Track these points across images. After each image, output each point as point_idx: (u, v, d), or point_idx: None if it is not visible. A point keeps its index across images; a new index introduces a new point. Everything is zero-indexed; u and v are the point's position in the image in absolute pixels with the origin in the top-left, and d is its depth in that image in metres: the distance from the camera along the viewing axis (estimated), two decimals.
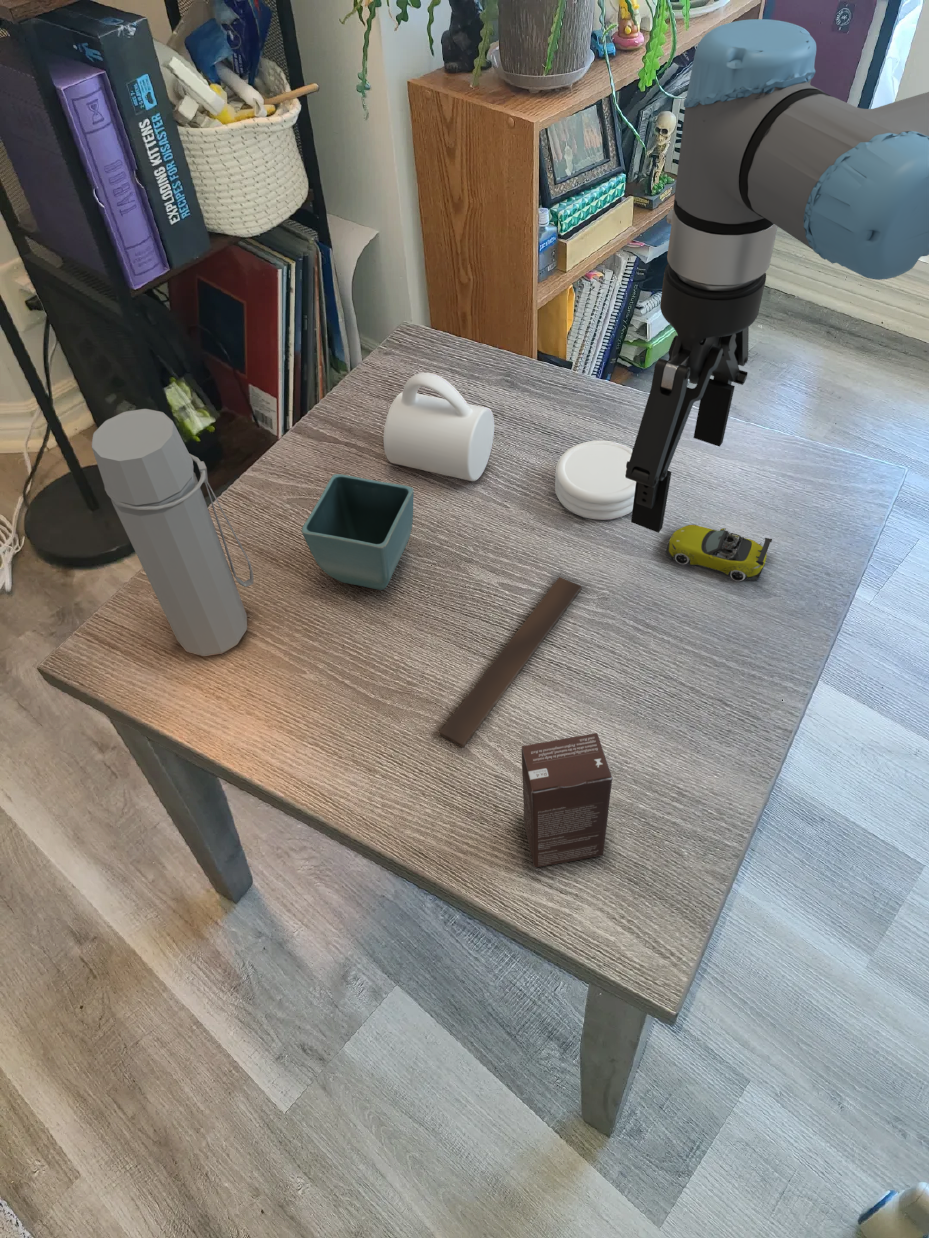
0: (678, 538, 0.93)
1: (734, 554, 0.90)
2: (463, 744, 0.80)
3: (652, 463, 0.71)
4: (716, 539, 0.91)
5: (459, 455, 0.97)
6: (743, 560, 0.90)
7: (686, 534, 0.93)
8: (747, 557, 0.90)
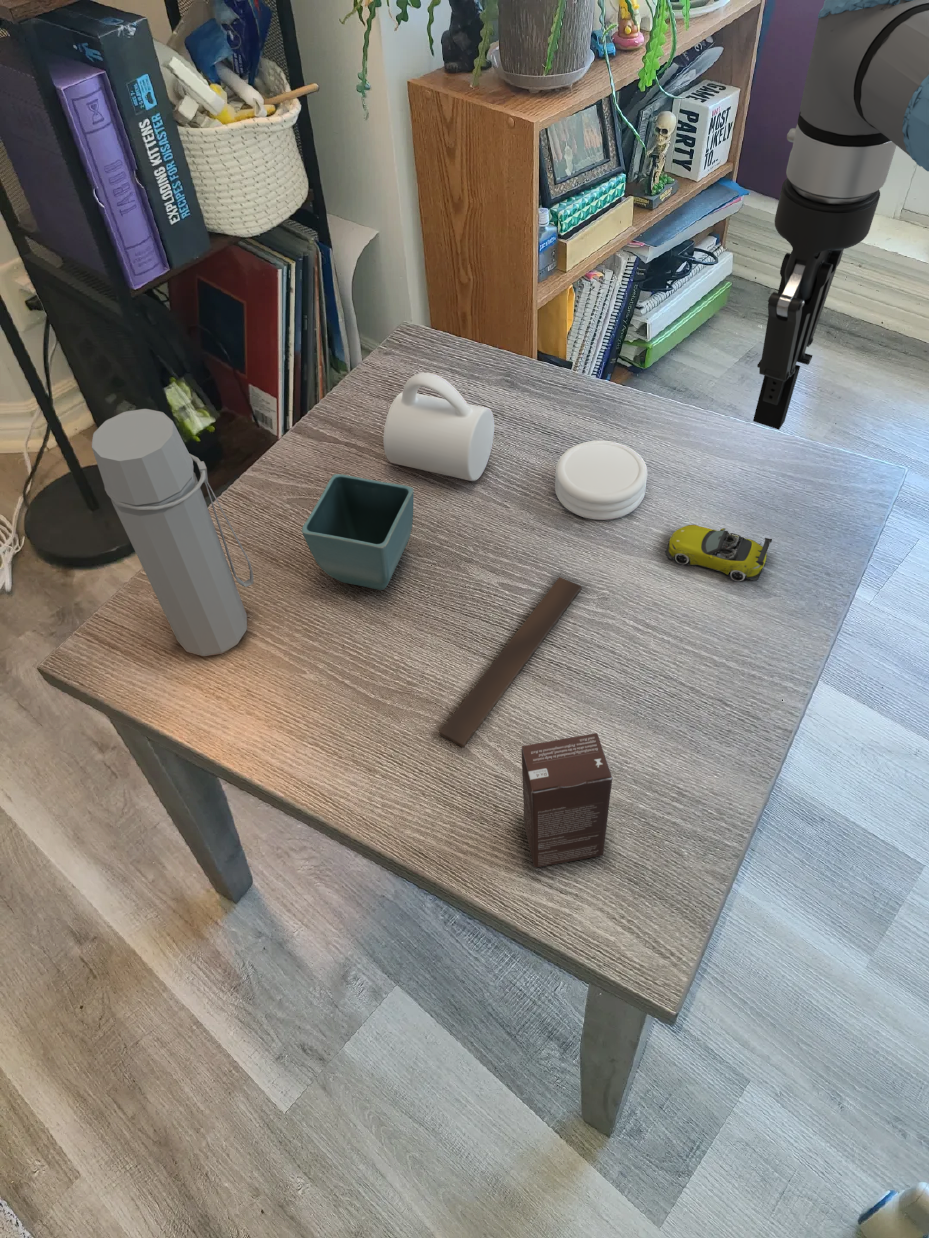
0: (678, 538, 0.93)
1: (734, 554, 0.90)
2: (463, 744, 0.80)
3: (781, 367, 0.80)
4: (716, 539, 0.91)
5: (459, 455, 0.97)
6: (743, 560, 0.90)
7: (686, 534, 0.93)
8: (747, 557, 0.90)
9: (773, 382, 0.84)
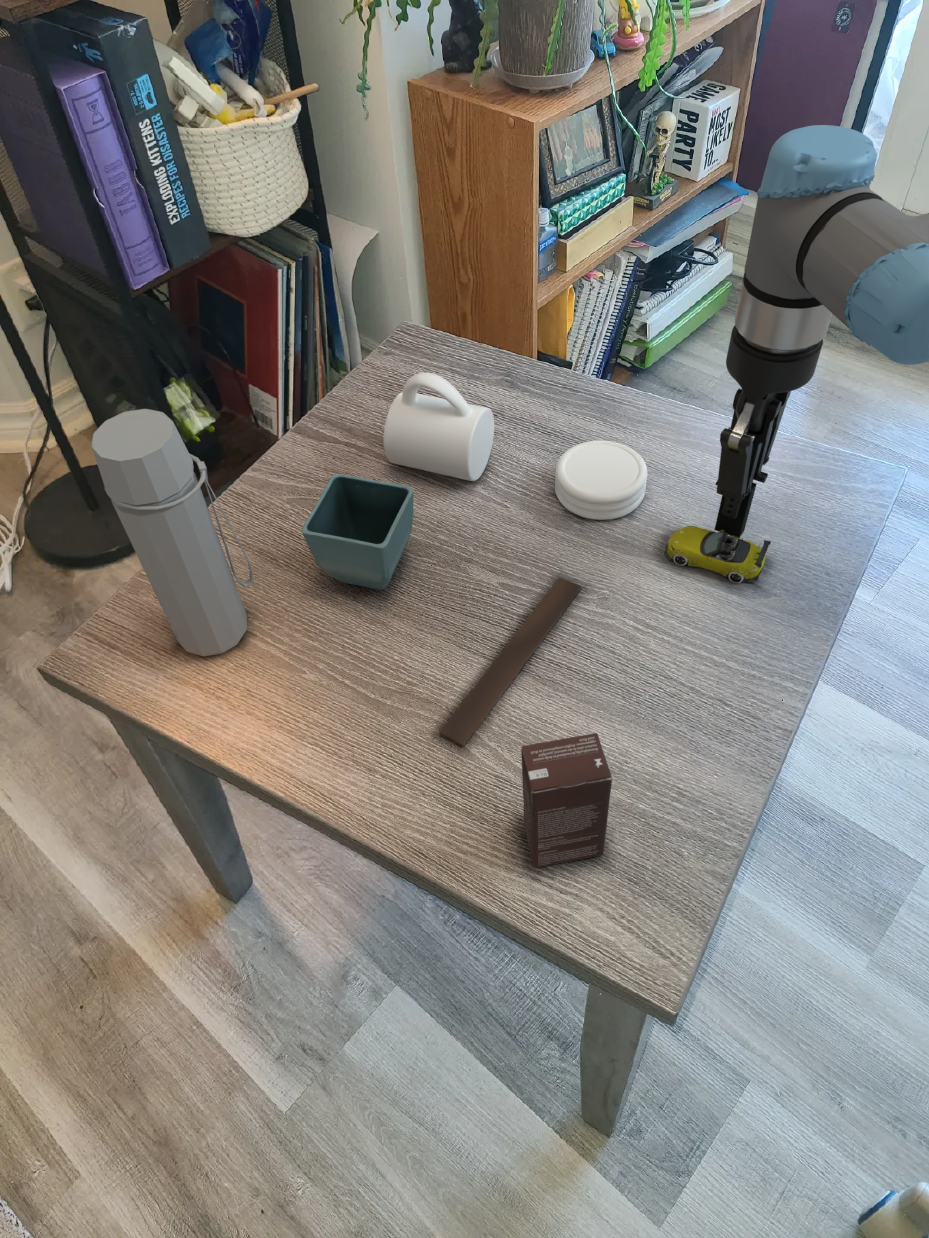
0: (677, 539, 0.93)
1: (732, 556, 0.90)
2: (463, 744, 0.80)
3: (736, 490, 0.84)
4: (715, 541, 0.91)
5: (459, 455, 0.97)
6: (741, 562, 0.90)
7: (685, 535, 0.93)
8: (745, 559, 0.90)
9: (731, 499, 0.88)
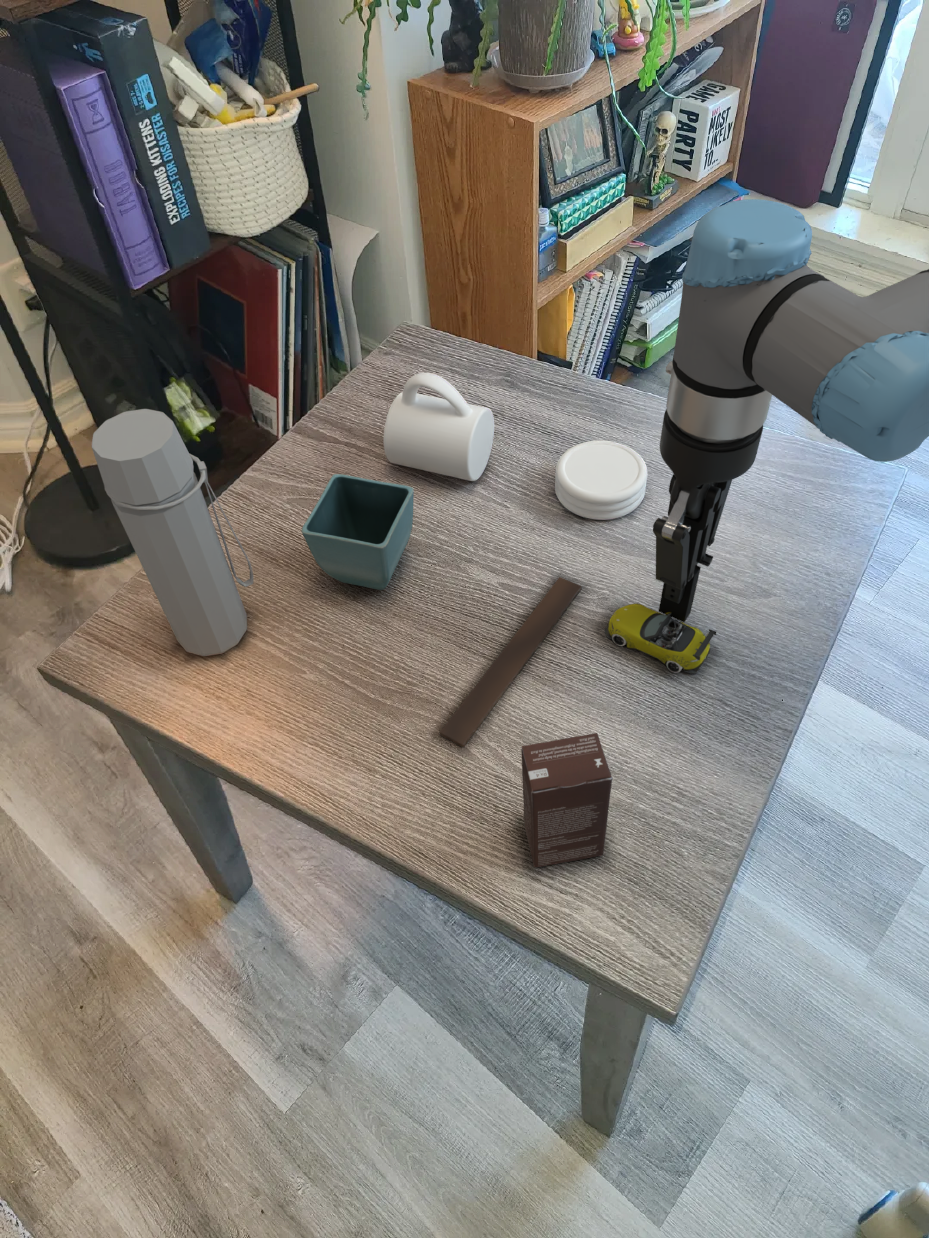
0: (619, 617, 0.87)
1: (672, 643, 0.83)
2: (463, 744, 0.80)
3: (675, 578, 0.78)
4: (657, 624, 0.85)
5: (459, 455, 0.97)
6: (681, 651, 0.83)
7: (628, 614, 0.87)
8: (686, 648, 0.83)
9: None
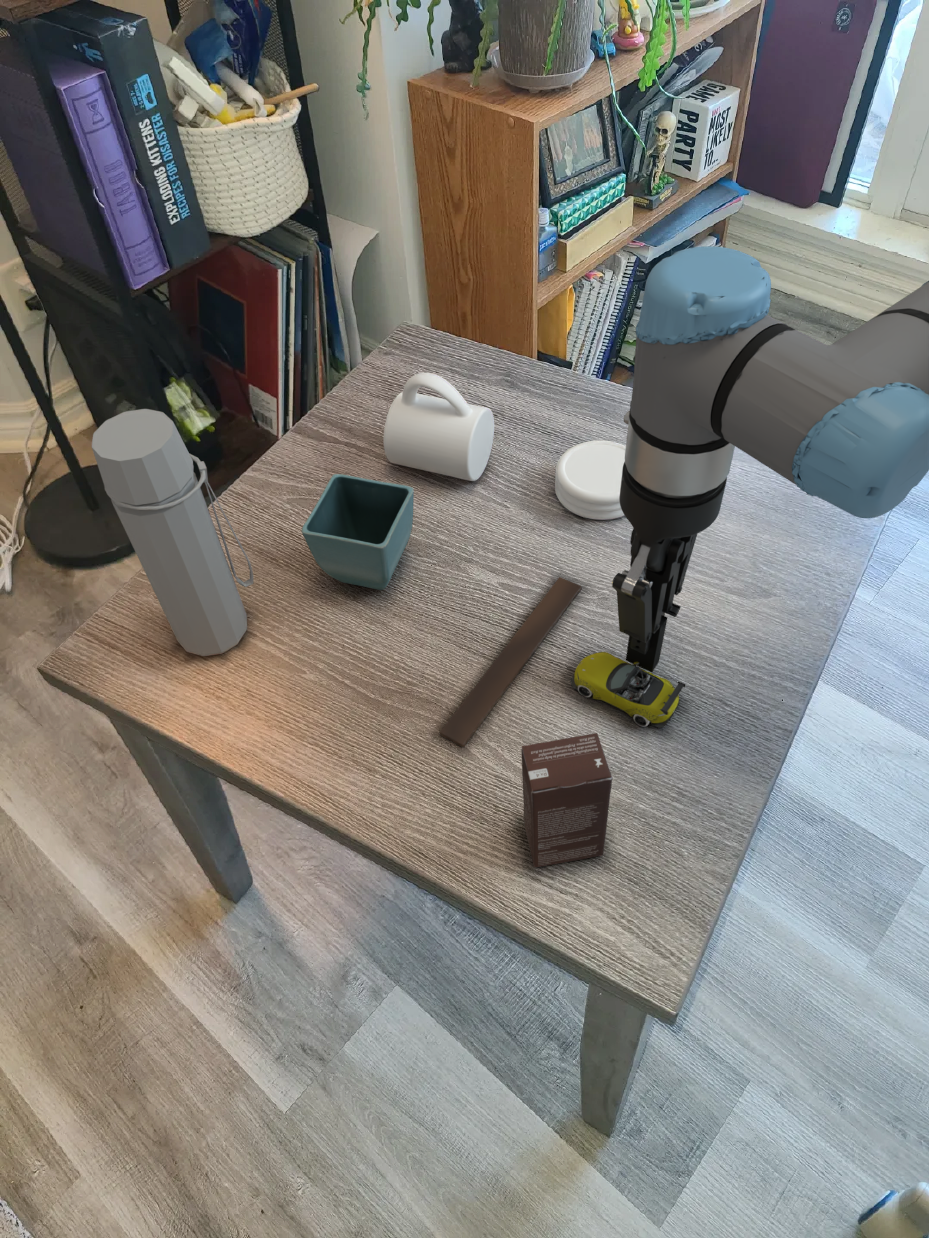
0: (585, 667, 0.83)
1: (639, 696, 0.80)
2: (463, 744, 0.80)
3: (639, 632, 0.74)
4: (623, 675, 0.81)
5: (459, 455, 0.97)
6: (648, 705, 0.79)
7: (594, 663, 0.83)
8: (653, 701, 0.79)
9: None
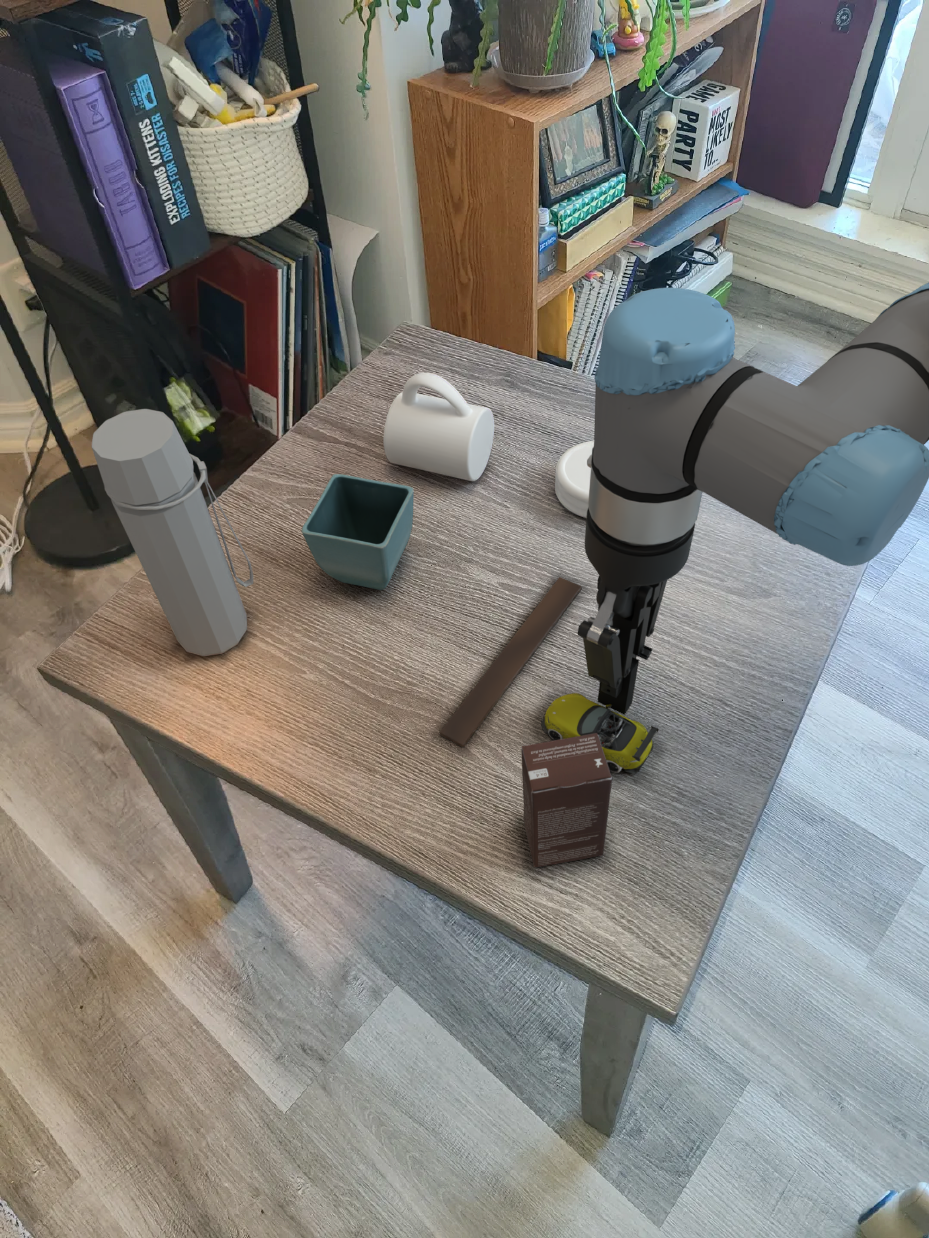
0: (555, 709, 0.80)
1: (611, 742, 0.77)
2: (463, 744, 0.80)
3: (608, 678, 0.71)
4: (595, 719, 0.78)
5: (459, 455, 0.97)
6: (620, 750, 0.77)
7: (565, 706, 0.80)
8: (626, 747, 0.77)
9: None
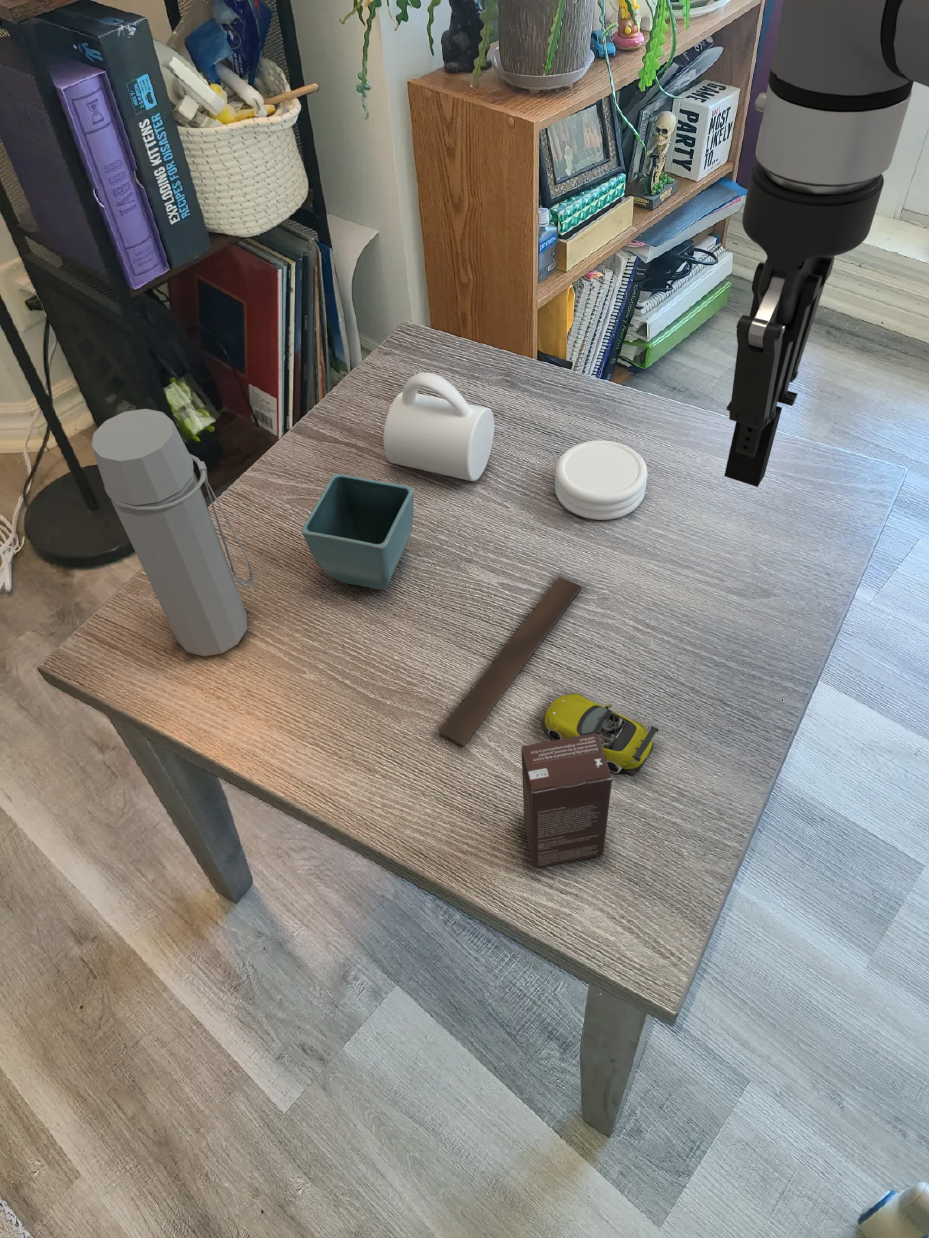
0: (555, 709, 0.80)
1: (610, 742, 0.77)
2: (463, 744, 0.80)
3: (757, 411, 0.61)
4: (595, 719, 0.78)
5: (459, 455, 0.97)
6: (620, 751, 0.77)
7: (565, 706, 0.80)
8: (625, 747, 0.77)
9: (748, 429, 0.65)
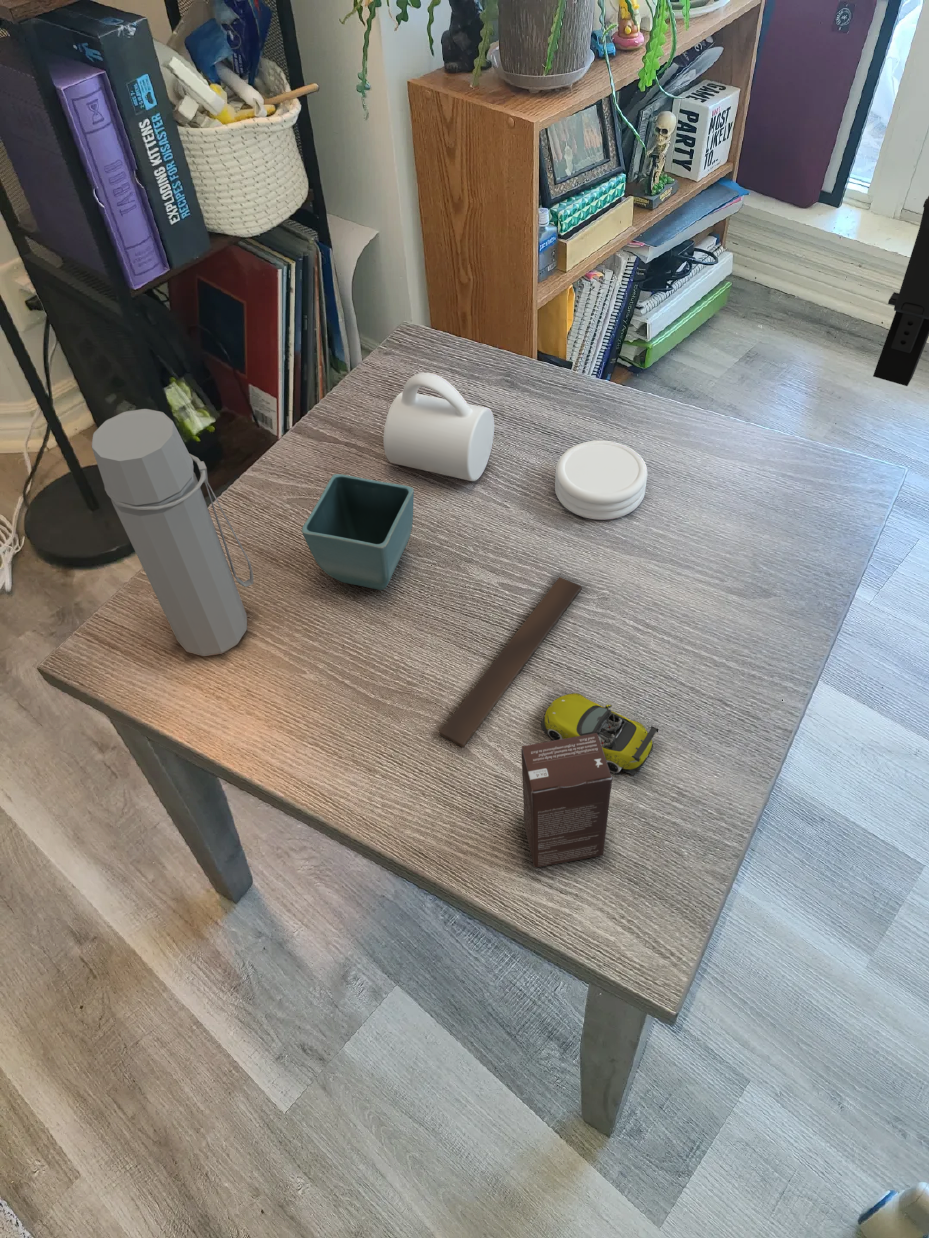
0: (555, 709, 0.80)
1: (610, 742, 0.77)
2: (463, 744, 0.80)
3: (926, 299, 0.62)
4: (595, 719, 0.78)
5: (459, 455, 0.97)
6: (620, 751, 0.77)
7: (565, 706, 0.80)
8: (625, 747, 0.77)
9: (908, 323, 0.66)
